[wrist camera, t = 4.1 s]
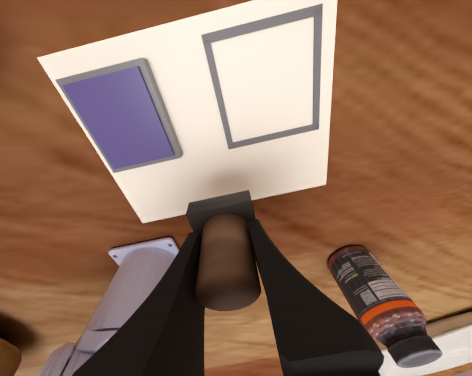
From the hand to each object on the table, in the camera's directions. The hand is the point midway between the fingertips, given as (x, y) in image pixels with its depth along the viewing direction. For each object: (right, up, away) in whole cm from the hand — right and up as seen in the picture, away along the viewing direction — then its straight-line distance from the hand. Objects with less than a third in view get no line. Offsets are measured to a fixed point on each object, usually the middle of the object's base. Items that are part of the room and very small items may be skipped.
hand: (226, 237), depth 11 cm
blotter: (-1, +8, +5) cm, 9 cm away
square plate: (+47, -35, +35) cm, 68 cm away
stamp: (0, +1, +1) cm, 2 cm away
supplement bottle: (+17, -7, +15) cm, 24 cm away
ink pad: (-8, +8, +3) cm, 12 cm away
